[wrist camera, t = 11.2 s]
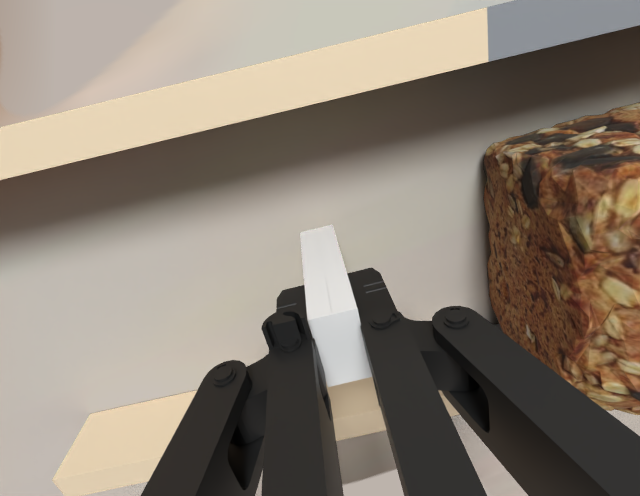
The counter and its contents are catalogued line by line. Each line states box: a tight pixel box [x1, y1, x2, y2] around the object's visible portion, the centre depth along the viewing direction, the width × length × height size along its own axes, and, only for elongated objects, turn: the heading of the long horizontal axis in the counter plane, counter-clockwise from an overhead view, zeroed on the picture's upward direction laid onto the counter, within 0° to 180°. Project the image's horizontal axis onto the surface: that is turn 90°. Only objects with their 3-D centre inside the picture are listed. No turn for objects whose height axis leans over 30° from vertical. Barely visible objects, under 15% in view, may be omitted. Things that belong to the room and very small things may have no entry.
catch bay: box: [0, 0, 640, 496], centre depth 17 cm, size 17×46×4 cm, turn 102°
